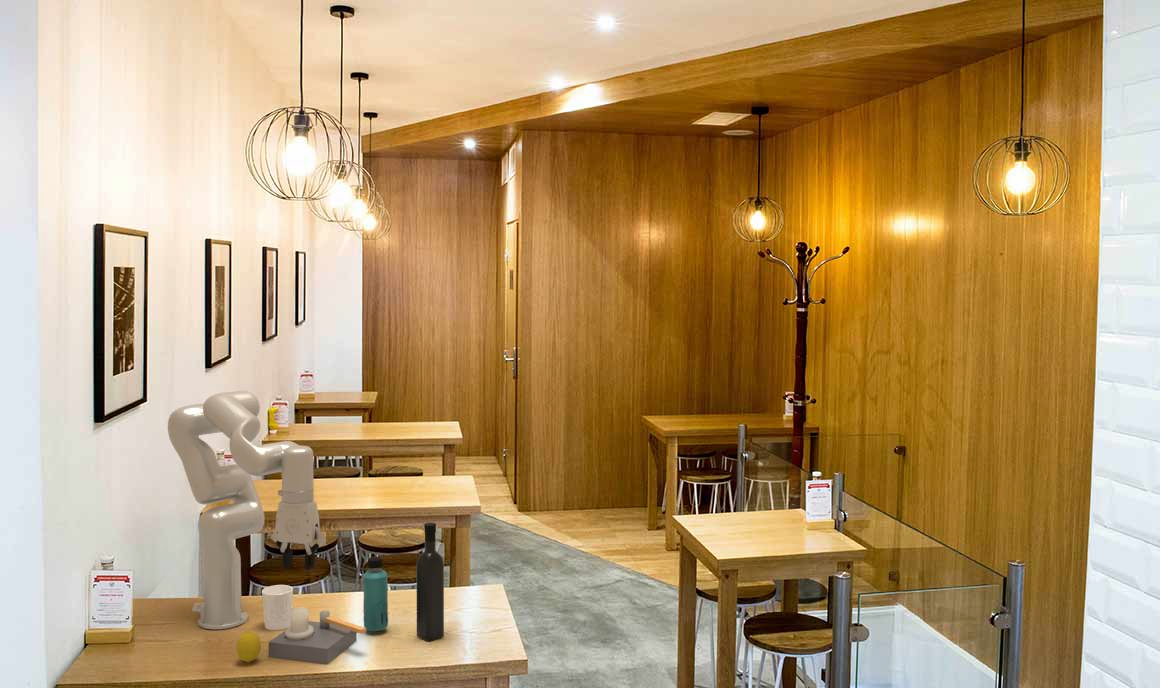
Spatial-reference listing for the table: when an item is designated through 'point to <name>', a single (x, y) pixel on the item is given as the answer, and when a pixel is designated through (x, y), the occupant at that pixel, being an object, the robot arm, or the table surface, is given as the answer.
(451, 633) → the table surface
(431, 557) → the wine bottle
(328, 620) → the hammer
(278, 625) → the white cup
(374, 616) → the beverage bottle
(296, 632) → the plug
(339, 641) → the dock
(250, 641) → the lemon
